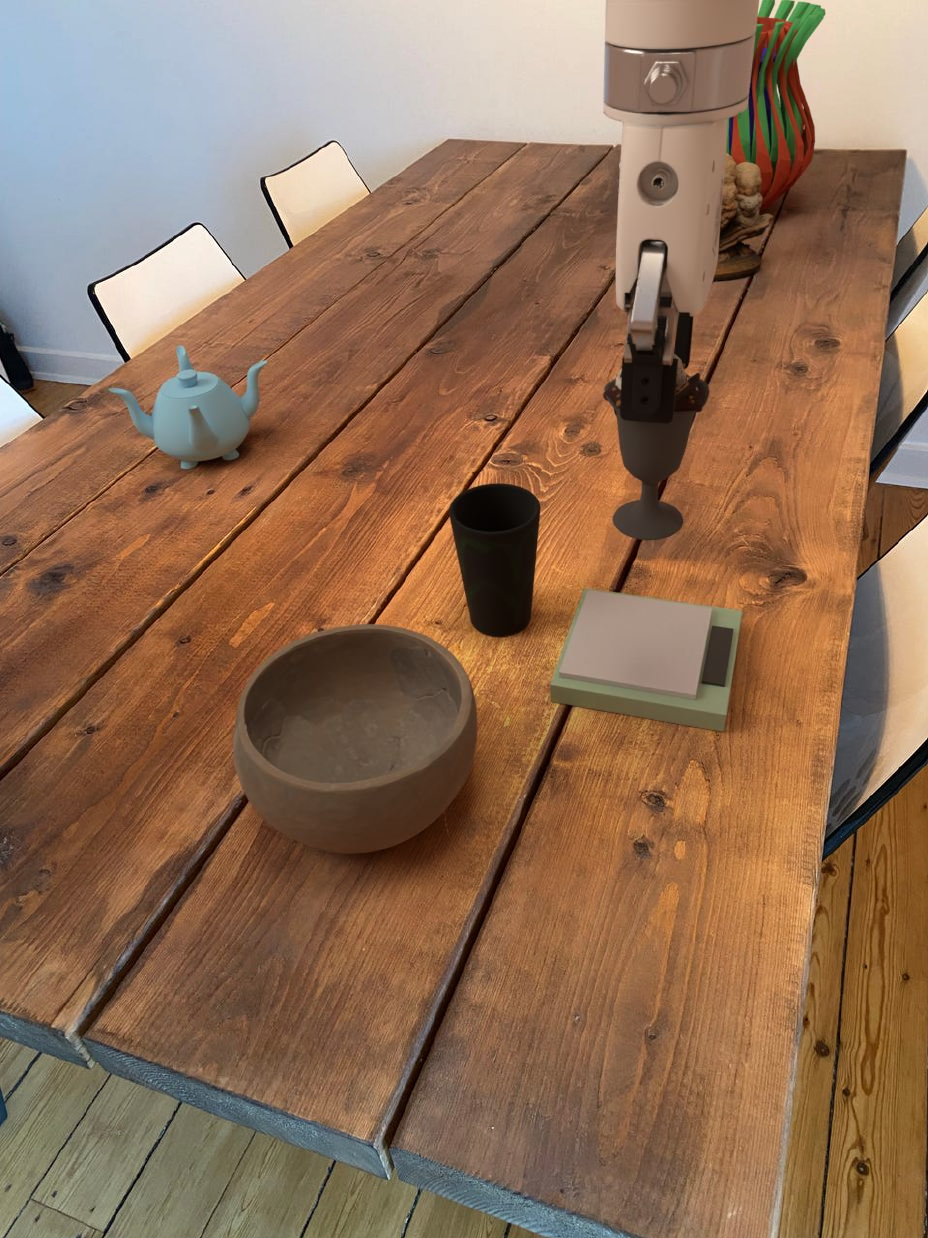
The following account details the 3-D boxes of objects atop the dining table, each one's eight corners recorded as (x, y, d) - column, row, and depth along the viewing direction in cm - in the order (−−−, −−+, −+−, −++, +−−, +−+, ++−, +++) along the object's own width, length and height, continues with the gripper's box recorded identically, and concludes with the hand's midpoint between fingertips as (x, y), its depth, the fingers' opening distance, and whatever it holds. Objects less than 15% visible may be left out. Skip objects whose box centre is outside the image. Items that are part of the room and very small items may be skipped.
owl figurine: (758, 251, 152) (773, 135, 141) (774, 278, 143) (791, 157, 132) (645, 257, 153) (651, 143, 142) (653, 285, 144) (661, 165, 133)
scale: (740, 627, 83) (743, 604, 82) (724, 732, 74) (727, 709, 73) (583, 604, 87) (584, 582, 86) (550, 701, 78) (549, 679, 76)
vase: (789, 180, 179) (816, -9, 160) (819, 233, 156) (855, 20, 137) (627, 186, 183) (635, 2, 163) (633, 240, 160) (643, 33, 140)
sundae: (595, 497, 70) (600, 298, 60) (688, 493, 69) (707, 292, 60) (602, 549, 65) (609, 341, 55) (702, 546, 64) (725, 335, 55)
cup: (550, 596, 89) (549, 487, 81) (531, 650, 83) (528, 538, 75) (471, 586, 90) (463, 478, 83) (448, 638, 85) (436, 527, 77)
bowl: (476, 699, 79) (468, 606, 72) (490, 880, 65) (482, 786, 59) (270, 715, 79) (244, 624, 73) (241, 900, 65) (206, 808, 59)
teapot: (131, 465, 113) (104, 387, 106) (203, 415, 121) (182, 340, 115) (215, 487, 108) (192, 407, 101) (284, 433, 116) (267, 355, 110)
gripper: (734, 119, 42) (698, 467, 54) (763, 43, 55) (729, 339, 66) (569, 119, 44) (568, 454, 56) (633, 46, 57) (622, 332, 68)
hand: (656, 389), depth 61 cm, fingers closed on sundae, 6 cm apart
